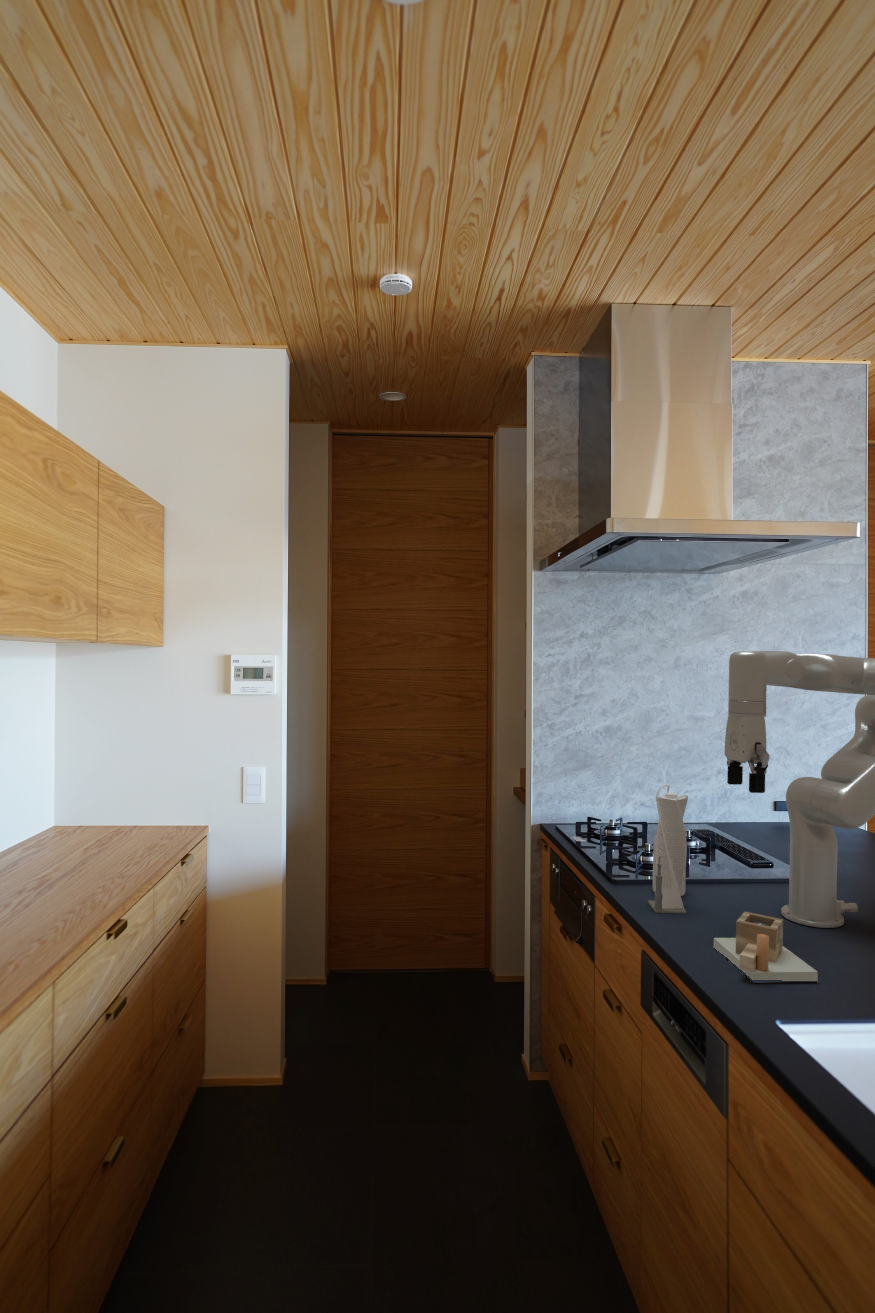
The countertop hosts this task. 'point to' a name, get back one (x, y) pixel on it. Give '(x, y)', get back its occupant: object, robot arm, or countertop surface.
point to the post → (761, 922)
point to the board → (770, 964)
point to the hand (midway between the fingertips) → (745, 788)
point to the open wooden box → (748, 938)
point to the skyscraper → (670, 853)
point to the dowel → (762, 952)
